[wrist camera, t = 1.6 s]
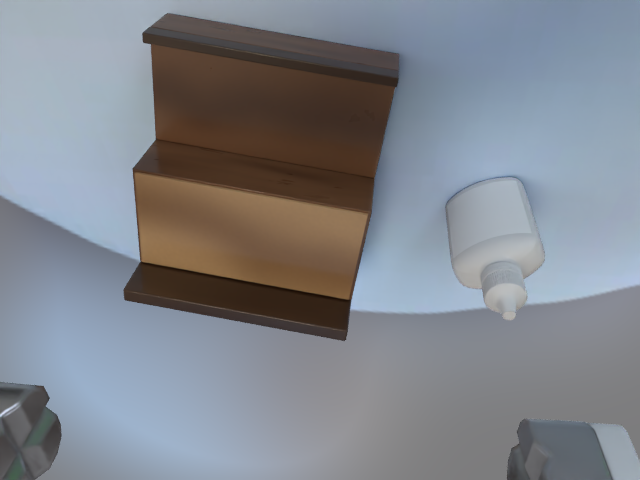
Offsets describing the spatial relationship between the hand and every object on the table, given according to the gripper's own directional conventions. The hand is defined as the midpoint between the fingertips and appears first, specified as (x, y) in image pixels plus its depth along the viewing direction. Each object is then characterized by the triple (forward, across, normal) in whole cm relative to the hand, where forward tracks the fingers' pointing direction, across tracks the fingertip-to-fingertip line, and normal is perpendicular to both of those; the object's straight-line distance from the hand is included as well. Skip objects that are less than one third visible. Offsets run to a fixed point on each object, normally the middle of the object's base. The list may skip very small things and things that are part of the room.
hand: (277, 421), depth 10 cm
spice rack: (+30, +5, +10) cm, 32 cm away
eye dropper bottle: (+30, -10, +13) cm, 34 cm away
